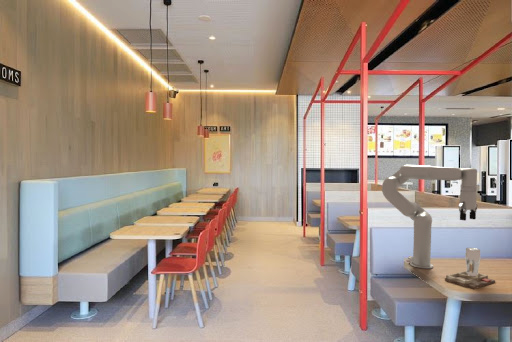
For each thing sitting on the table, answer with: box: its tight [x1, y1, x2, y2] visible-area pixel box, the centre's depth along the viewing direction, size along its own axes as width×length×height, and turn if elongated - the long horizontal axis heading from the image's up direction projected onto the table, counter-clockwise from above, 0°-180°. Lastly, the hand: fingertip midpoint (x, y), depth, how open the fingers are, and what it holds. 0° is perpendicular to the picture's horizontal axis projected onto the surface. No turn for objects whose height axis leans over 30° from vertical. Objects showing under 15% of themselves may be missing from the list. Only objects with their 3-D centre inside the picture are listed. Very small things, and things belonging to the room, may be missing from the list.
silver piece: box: [464, 247, 481, 278], centre depth 195 cm, size 7×7×15 cm
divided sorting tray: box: [444, 270, 496, 290], centre depth 191 cm, size 15×21×3 cm
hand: (467, 219), depth 208 cm, fingers open, 9 cm apart
